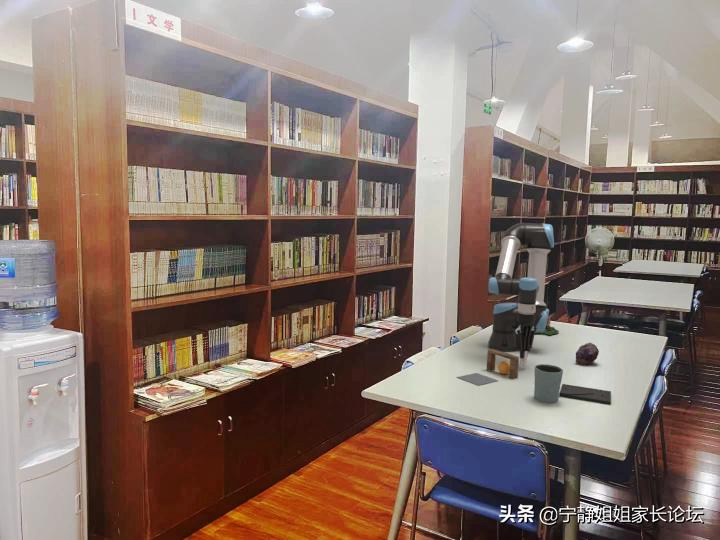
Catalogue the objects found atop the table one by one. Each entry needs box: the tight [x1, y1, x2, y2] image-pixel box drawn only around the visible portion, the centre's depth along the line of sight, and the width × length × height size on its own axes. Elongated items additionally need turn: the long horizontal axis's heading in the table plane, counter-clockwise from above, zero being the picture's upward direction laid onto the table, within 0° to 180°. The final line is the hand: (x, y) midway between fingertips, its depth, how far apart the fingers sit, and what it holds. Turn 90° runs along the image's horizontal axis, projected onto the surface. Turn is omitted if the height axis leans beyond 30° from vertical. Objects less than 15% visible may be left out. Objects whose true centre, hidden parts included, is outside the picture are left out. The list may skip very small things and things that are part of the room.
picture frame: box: [559, 383, 612, 406], centre depth 206 cm, size 13×2×18 cm
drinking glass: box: [533, 363, 564, 404], centre depth 200 cm, size 10×10×12 cm
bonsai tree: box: [535, 290, 559, 336], centre depth 311 cm, size 35×24×32 cm
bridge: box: [486, 348, 520, 380], centre depth 230 cm, size 3×14×9 cm, turn 35°
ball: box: [497, 360, 510, 375], centre depth 230 cm, size 6×6×6 cm
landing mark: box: [456, 372, 499, 387], centre depth 222 cm, size 12×12×1 cm
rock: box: [575, 342, 600, 366], centre depth 251 cm, size 12×9×10 cm
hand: (523, 364), depth 238 cm, fingers closed
